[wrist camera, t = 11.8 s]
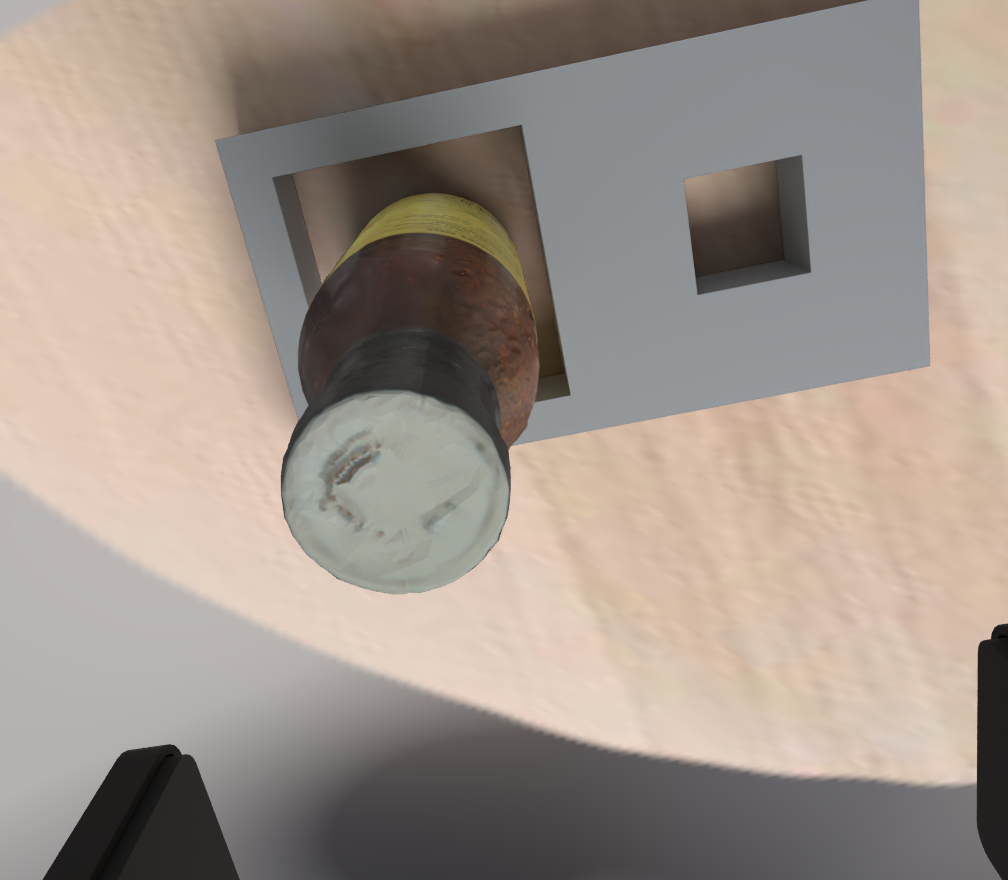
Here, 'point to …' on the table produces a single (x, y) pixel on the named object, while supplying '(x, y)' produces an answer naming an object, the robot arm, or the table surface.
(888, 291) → the caddy
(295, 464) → the sauce bottle
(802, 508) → the table surface
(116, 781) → the robot arm
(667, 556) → the table surface
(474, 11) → the table surface
